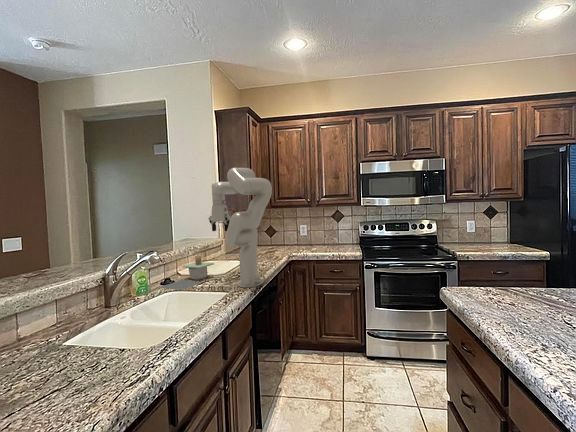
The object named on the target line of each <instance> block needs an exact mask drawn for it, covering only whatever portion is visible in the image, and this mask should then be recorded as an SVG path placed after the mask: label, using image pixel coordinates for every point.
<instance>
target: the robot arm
mask: <svg viewBox="0 0 576 432" xmlns="http://www.w3.org/2000/svg"><path fill="white" fill-rule="evenodd" d="M226 176H227V177H226V179H227V181H217V182H215V183H212V184H211V198H212V206H211V215H210V216H209V217H208V218H207V219H208V221H209V223H210V225H211V231H212V232H216V231H217V225H216V223H219V222H221V223H222V222H223V223H224V232H226V233H225V243H226V244H227V245H228V246H229V247H240V246H241V247H240V250H239V252H238V253H239V254H238V255H239V256H238V257H239V275H240V276H239V277H240V281H239V282H238V283H237V287H240V288H255V287H259V286H260V285H261V284H263V283H264V278H260V275H259V270H258V251H257V250H258V249H257V247H258V240H259V239H258V238H259V237H258V236H259V235H258V234H259V233H258V231H257V228H259V226H260V225H261V222H262V218H263V217H264V213H265V210H266V208H267V206H268V204H269V202H270V200H271V197H272V192H273V188H272V183H271V181H270V180H269V179H267V178H264V177H256V173H255V171H254V170H253V169H251V168H248V167H232V168H230V169H229V170H228V171H227V175H226ZM235 194H236V195H237V194H240V195H244V196H246V195H247V196H251V195H255V196H254V197H253V198H252V199H251V200H250V202H249V204H248V208H247V209H246V210H245V211H238V212H237V211H236V212H234V213H233V214H232V215H231V216H230V215H229V209H228V206H227V205H226V204H227V201H226V196H225V195H235Z"/></svg>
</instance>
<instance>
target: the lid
mask: <svg viewBox="0 0 576 432" xmlns="http://www.w3.org/2000/svg"><path fill="white" fill-rule="evenodd" d="M194 258H195V259H194V261H195V262H193V263H189V264H185V265H182V268H186V269H187V268H197V269H200V268H203V267H207V268H208V267H210V266H213V265H215V262H205V261H202V255H195V257H194Z"/></svg>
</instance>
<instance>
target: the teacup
mask: <svg viewBox="0 0 576 432" xmlns="http://www.w3.org/2000/svg"><path fill="white" fill-rule="evenodd" d="M188 272H189V278H190V279H192V281H194V280H195V281H199V280H205V278H207V277H208V266H207V267H203V268H200V269H197V268H188Z"/></svg>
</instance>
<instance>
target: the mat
mask: <svg viewBox="0 0 576 432" xmlns="http://www.w3.org/2000/svg"><path fill="white" fill-rule="evenodd" d="M202 283H204V282H201V281H194V280H182V279H180V280H178V281H174V282H172V283H168V284H165V285H161V286H158V287H157V288H159V289H168V290H173V291H183V290H185V289H188V288H191V287H194V286H197V285H200V284H202Z"/></svg>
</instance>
